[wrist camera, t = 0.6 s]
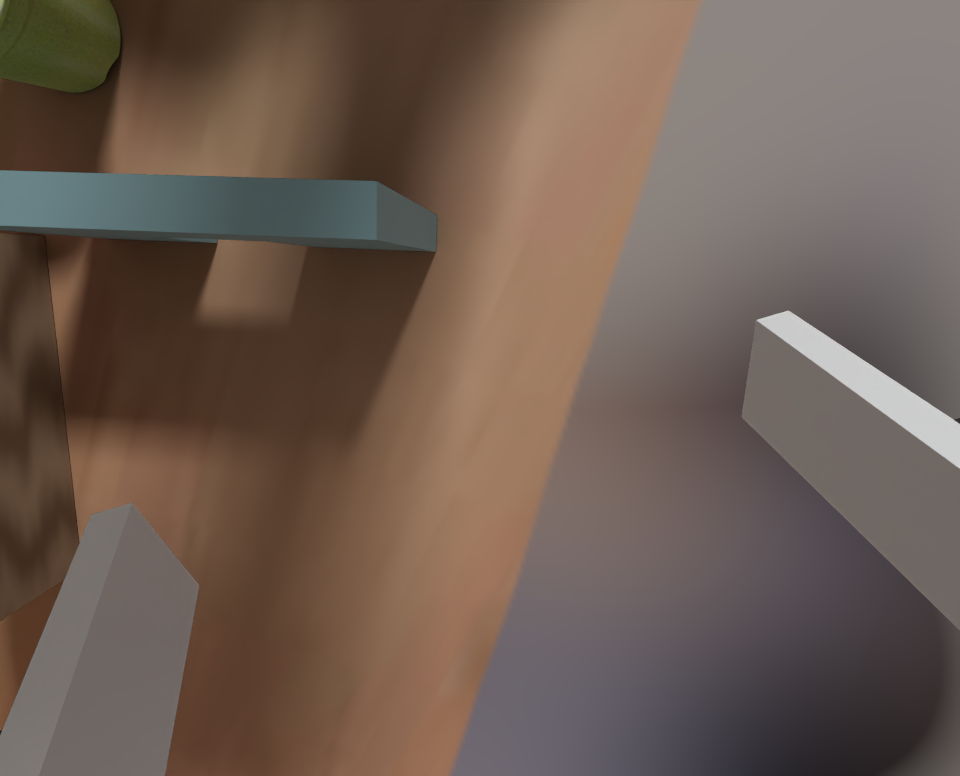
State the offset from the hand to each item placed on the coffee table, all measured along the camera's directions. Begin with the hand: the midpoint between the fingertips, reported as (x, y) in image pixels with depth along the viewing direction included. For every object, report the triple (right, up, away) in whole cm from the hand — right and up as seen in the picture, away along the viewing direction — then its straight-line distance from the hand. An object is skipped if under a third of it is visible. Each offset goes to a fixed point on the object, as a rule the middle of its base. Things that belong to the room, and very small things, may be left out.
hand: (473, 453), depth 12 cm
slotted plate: (-12, +11, +21) cm, 26 cm away
